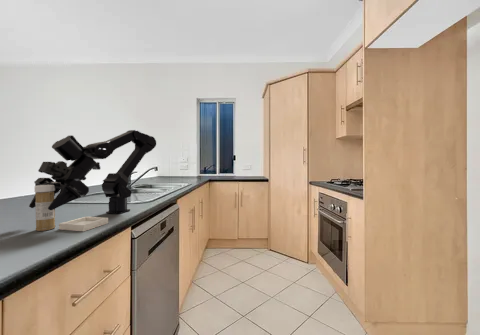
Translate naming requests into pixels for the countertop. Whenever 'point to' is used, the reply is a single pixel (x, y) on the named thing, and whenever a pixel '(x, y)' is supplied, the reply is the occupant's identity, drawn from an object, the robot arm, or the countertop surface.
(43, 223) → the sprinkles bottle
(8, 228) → the countertop surface
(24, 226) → the countertop surface
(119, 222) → the countertop surface
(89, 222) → the tray
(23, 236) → the countertop surface
